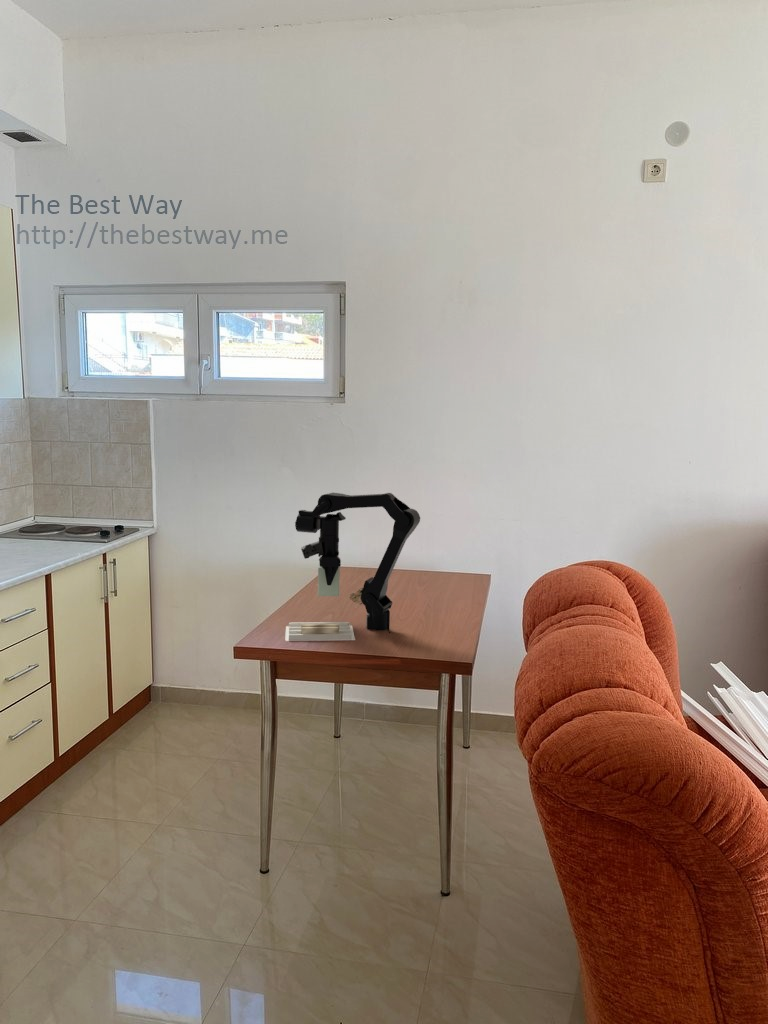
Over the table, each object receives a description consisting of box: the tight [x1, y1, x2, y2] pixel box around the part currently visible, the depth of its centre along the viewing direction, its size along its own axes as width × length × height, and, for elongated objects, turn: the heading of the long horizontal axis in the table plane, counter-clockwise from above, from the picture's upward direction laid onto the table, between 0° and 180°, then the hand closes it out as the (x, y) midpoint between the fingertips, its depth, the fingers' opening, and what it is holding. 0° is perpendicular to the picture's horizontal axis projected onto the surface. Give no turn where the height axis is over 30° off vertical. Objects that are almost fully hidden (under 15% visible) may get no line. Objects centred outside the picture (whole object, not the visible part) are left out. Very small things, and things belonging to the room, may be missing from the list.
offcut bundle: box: [301, 624, 339, 634], centre depth 227 cm, size 11×3×4 cm, turn 96°
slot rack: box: [284, 621, 356, 642], centre depth 231 cm, size 20×15×2 cm
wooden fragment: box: [348, 587, 363, 605], centre depth 283 cm, size 26×11×1 cm, turn 164°
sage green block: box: [317, 565, 341, 597], centre depth 242 cm, size 6×3×9 cm, turn 96°
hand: (328, 584), depth 242 cm, fingers closed on sage green block, 3 cm apart
